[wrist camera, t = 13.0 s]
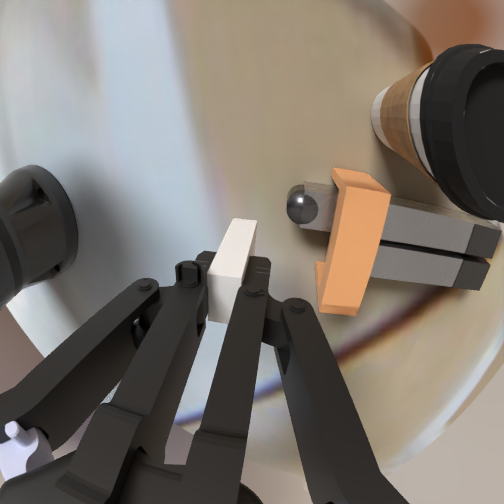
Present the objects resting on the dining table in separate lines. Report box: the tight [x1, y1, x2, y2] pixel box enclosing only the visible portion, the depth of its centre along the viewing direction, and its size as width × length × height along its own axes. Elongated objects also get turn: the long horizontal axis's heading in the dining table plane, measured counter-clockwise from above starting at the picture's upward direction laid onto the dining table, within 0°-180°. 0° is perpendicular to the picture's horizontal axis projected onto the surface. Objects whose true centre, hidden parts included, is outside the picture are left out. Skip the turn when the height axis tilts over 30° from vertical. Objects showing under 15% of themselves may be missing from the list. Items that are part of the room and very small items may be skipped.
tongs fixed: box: [287, 182, 502, 259], centre depth 21 cm, size 21×3×3 cm, turn 85°
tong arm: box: [326, 232, 490, 291], centre depth 23 cm, size 17×3×3 cm, turn 85°
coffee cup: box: [371, 44, 504, 223], centre depth 12 cm, size 8×8×15 cm
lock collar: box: [315, 167, 391, 316], centre depth 21 cm, size 3×10×6 cm, turn 175°
